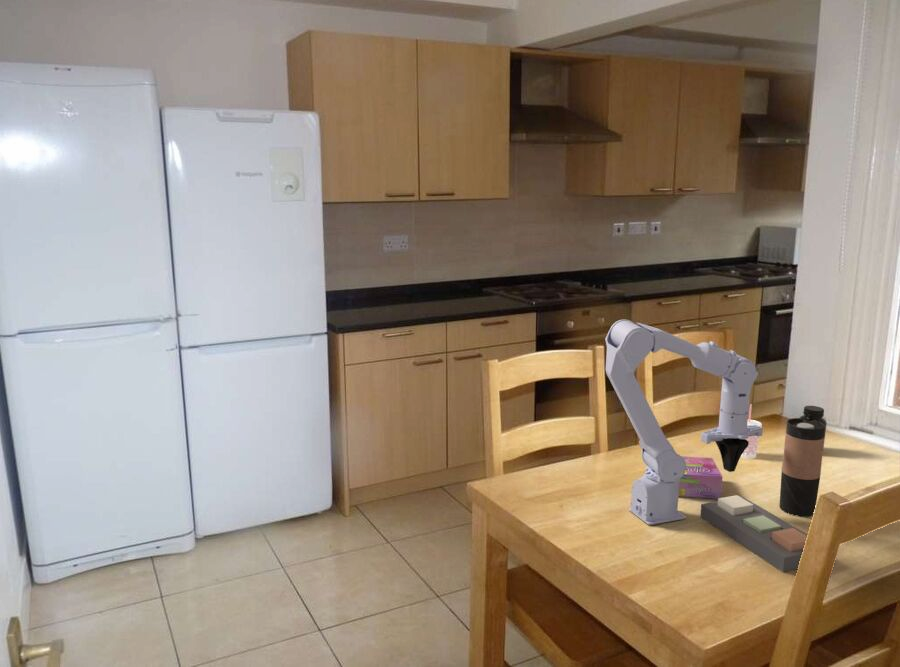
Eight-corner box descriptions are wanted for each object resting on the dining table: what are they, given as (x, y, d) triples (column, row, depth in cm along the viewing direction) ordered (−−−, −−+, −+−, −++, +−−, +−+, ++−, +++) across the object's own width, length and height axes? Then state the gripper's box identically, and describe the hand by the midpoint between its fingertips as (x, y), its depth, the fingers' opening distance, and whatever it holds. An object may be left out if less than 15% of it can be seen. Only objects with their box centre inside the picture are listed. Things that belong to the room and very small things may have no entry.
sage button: (760, 539, 146) (760, 529, 146) (742, 528, 151) (743, 519, 150) (780, 535, 148) (781, 526, 147) (762, 524, 152) (763, 515, 152)
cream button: (733, 517, 153) (733, 508, 153) (717, 507, 158) (717, 498, 157) (752, 513, 155) (753, 504, 154) (736, 503, 159) (737, 495, 159)
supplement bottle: (797, 453, 195) (801, 410, 192) (793, 445, 201) (797, 403, 198) (825, 456, 193) (830, 413, 190) (820, 447, 199) (825, 405, 196)
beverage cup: (730, 455, 194) (734, 404, 191) (740, 449, 198) (744, 399, 195) (752, 461, 190) (757, 409, 187) (762, 455, 194) (767, 404, 191)
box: (712, 456, 177) (722, 476, 166) (711, 478, 179) (720, 499, 167) (668, 454, 179) (675, 473, 168) (667, 476, 180) (673, 496, 169)
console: (782, 572, 137) (784, 557, 136) (700, 516, 159) (701, 504, 158) (828, 562, 140) (830, 547, 140) (741, 509, 162) (743, 496, 162)
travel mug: (794, 519, 158) (803, 430, 153) (770, 504, 165) (778, 419, 161) (824, 514, 160) (834, 427, 155) (799, 500, 167) (807, 416, 163)
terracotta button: (790, 553, 138) (791, 543, 138) (771, 541, 143) (772, 531, 143) (811, 549, 140) (812, 539, 140) (791, 537, 145) (792, 527, 144)
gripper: (718, 419, 151) (713, 481, 154) (774, 412, 156) (769, 472, 159) (696, 409, 158) (692, 469, 161) (751, 403, 162) (746, 460, 165)
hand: (729, 470), depth 160 cm, fingers closed
